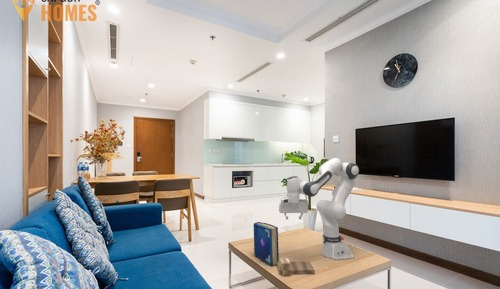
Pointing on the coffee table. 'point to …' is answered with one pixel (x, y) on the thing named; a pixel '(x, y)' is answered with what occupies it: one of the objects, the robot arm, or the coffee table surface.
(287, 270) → the block
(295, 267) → the board
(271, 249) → the book
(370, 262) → the coffee table surface
